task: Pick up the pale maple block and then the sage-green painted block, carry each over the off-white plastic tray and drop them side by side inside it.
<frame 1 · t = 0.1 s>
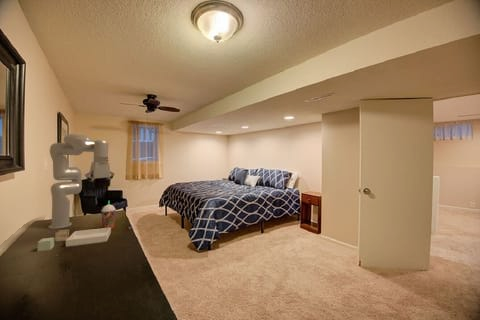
hand: (100, 187, 126), 31 cm above the dresser, tool pointing down, fingers open, 9 cm apart
tray: (90, 239, 121), on the dresser
maple block: (62, 239, 120), on the dresser
smoothie: (108, 229, 139), on the dresser
sage block: (46, 248, 107), on the dresser
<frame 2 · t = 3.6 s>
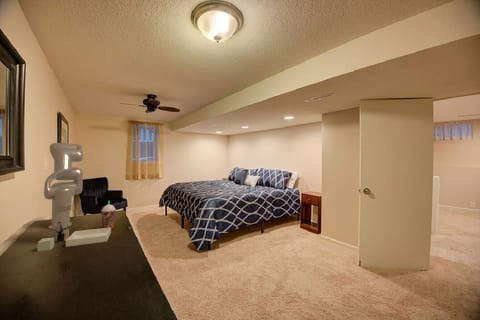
hand: (62, 238, 120), 0 cm above the dresser, tool pointing down, fingers closed on maple block, 5 cm apart
maple block: (62, 239, 120), on the dresser, touching gripper
everything else where it was.
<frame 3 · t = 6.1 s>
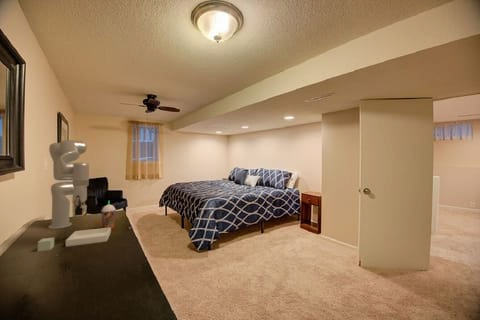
hand: (80, 213, 120), 16 cm above the dresser, tool pointing down, fingers closed on maple block, 4 cm apart
maple block: (80, 214, 120), point 15 cm above the dresser, touching gripper
everything else where it was.
when the fingers open (3 cm above the dresser, at t = 8.9 s): maple block drops 2 cm, resting on tray.
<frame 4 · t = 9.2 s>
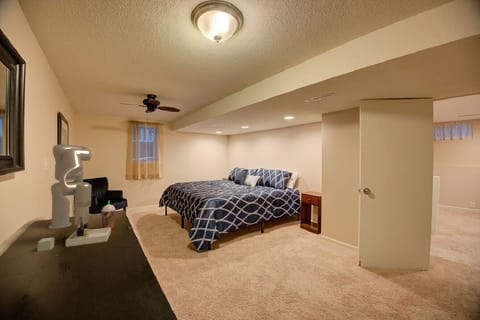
hand: (82, 233, 120), 4 cm above the dresser, tool pointing down, fingers open, 7 cm apart
maple block: (82, 238, 120), point 1 cm above the dresser, touching tray
everything else where it was.
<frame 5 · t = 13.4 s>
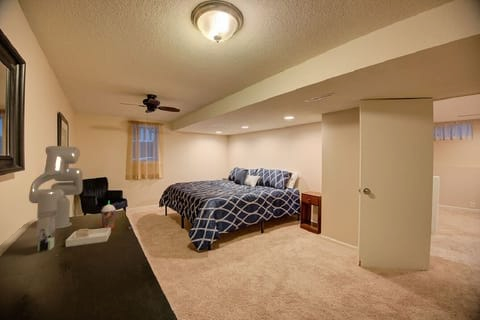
hand: (46, 247, 107), 1 cm above the dresser, tool pointing down, fingers closed on sage block, 5 cm apart
sage block: (46, 248, 107), on the dresser, touching gripper
everything else where it was.
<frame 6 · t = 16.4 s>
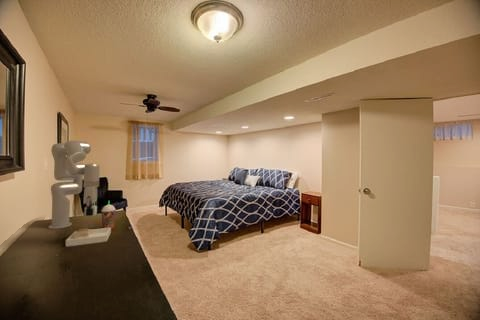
hand: (90, 214, 121), 16 cm above the dresser, tool pointing down, fingers closed on sage block, 4 cm apart
sage block: (90, 214, 121), point 15 cm above the dresser, touching gripper
everything else where it was.
when the fingers open (3 cm above the dresser, at t = 19.5 s): sage block drops 2 cm, resting on tray.
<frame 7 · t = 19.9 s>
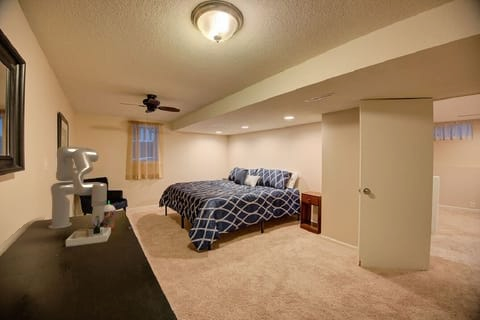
hand: (98, 231, 123), 4 cm above the dresser, tool pointing down, fingers open, 9 cm apart
sage block: (98, 236, 123), point 1 cm above the dresser, touching tray
everything else where it was.
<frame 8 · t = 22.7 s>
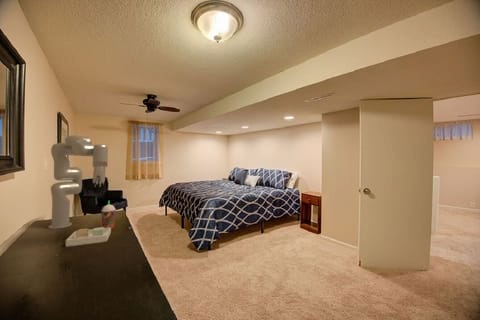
hand: (99, 192, 124), 28 cm above the dresser, tool pointing down, fingers open, 9 cm apart
nothing on the dresser moved.
at the end: maple block inside the target area on the tray (4.0 cm from its centre), point 0.8 cm above the tray's base; sage block inside the target area on the tray (4.0 cm from its centre), point 0.8 cm above the tray's base; smoothie moved 0.2 cm from its start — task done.
